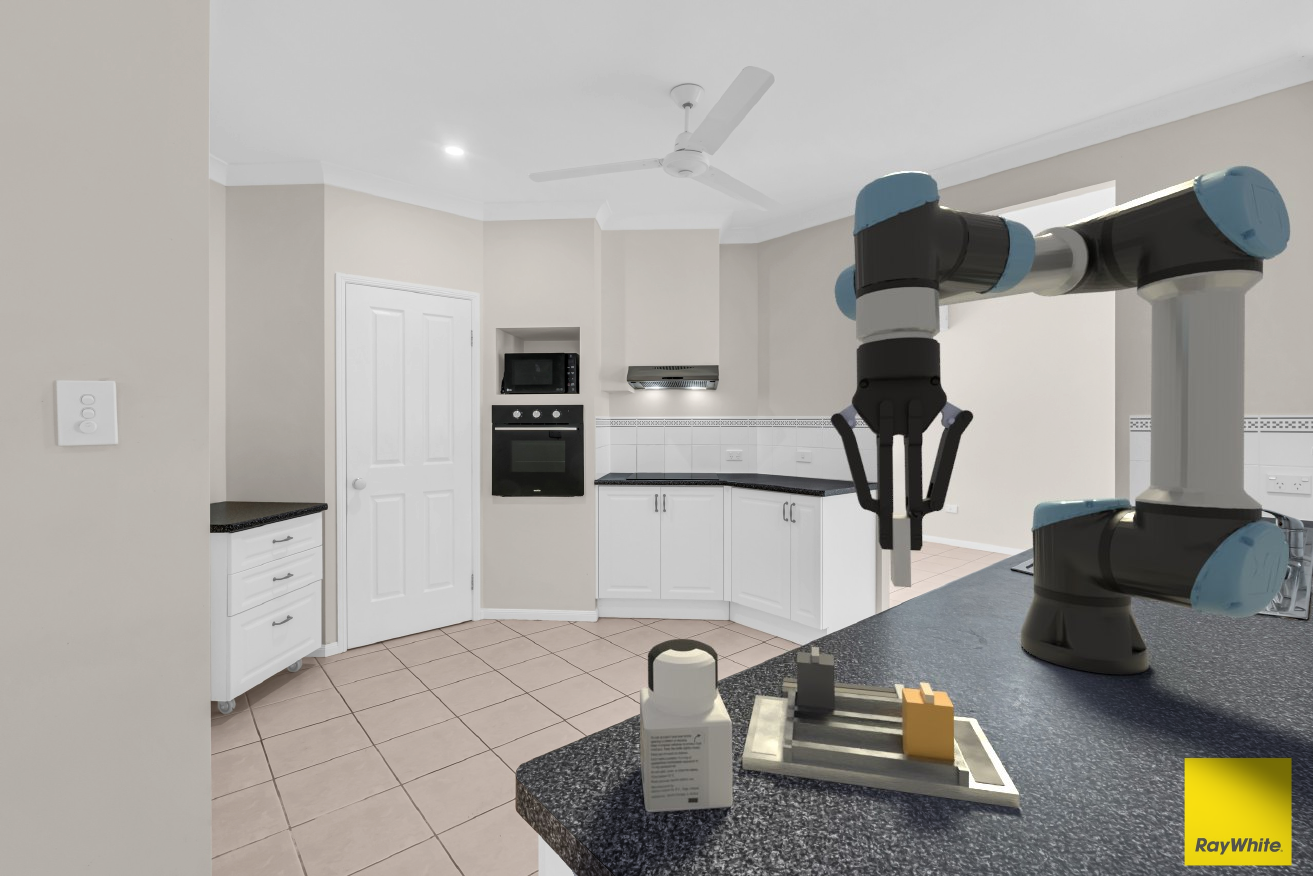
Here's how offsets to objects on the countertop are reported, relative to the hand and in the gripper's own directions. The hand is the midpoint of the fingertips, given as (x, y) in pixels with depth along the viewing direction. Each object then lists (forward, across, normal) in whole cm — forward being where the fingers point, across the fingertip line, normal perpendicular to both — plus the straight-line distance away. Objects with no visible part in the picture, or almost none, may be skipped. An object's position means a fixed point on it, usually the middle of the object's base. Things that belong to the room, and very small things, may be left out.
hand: (900, 583), depth 56 cm
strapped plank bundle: (+18, +3, -14) cm, 23 cm away
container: (+18, +20, +8) cm, 28 cm away
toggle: (+17, +8, -7) cm, 20 cm away
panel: (+18, +3, -3) cm, 19 cm away
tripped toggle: (+17, -2, 0) cm, 17 cm away
